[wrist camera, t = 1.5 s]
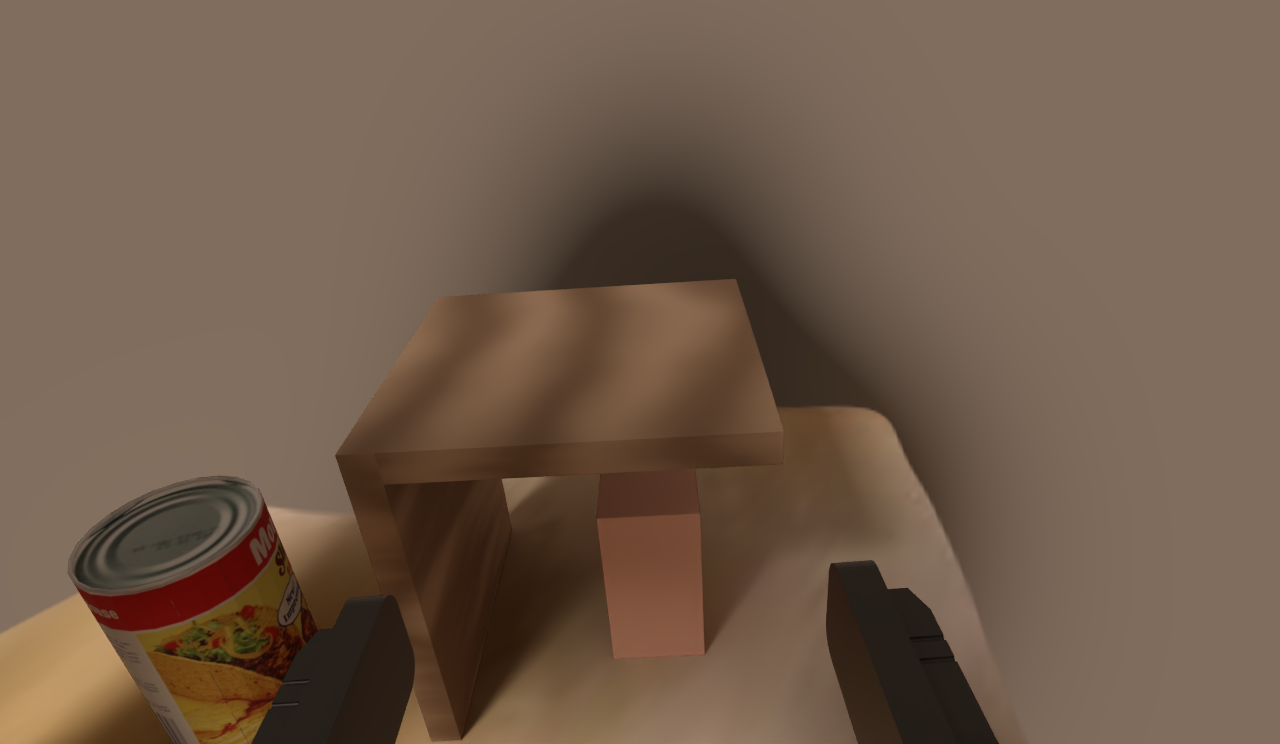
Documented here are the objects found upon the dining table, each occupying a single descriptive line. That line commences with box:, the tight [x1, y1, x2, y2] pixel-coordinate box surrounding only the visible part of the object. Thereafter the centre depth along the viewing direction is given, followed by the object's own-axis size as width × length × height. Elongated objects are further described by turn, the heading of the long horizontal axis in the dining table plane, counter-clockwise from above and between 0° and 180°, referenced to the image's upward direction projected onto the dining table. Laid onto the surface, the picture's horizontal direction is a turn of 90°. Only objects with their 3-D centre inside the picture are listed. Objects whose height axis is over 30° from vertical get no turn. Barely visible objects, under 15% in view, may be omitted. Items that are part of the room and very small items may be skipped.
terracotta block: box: [597, 469, 705, 659], centre depth 38 cm, size 5×5×10 cm
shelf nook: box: [335, 279, 784, 741], centre depth 37 cm, size 17×16×18 cm
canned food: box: [68, 476, 318, 744], centre depth 35 cm, size 8×8×12 cm
